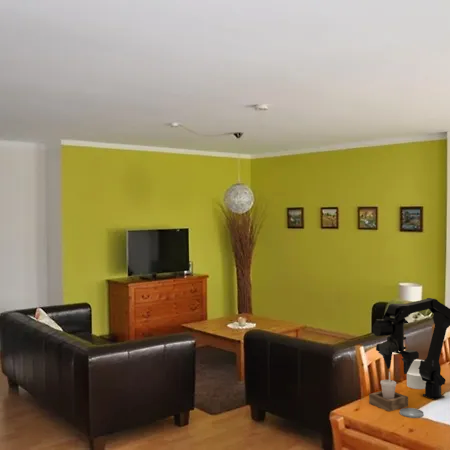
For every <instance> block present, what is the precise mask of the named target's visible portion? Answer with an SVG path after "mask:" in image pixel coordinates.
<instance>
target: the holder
mask: <svg viewBox="0 0 450 450" xmlns="http://www.w3.org/2000/svg"><path fill="white" fill-rule="evenodd" d="M368 396H369V399H368V403H369V404H370V405H372V406H374V407H377V408H378V409H381V410H384V411H387V412H392V411H396V410H400V409H402V408H409V396H407V395H405V394H402V393H399V392H396V391H395V395H394V398H393V399H386V398H383V393H382V390H380V391H376V392H372V393H369V394H368Z"/></svg>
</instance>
